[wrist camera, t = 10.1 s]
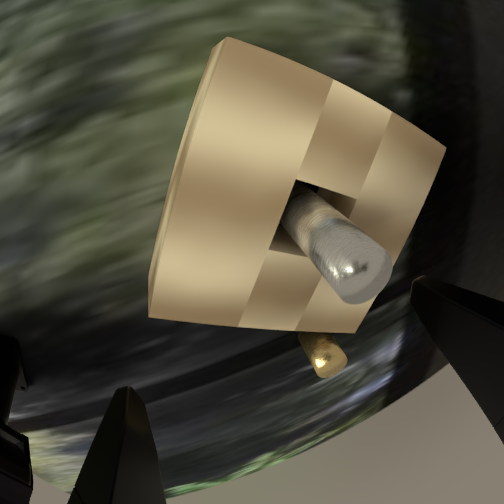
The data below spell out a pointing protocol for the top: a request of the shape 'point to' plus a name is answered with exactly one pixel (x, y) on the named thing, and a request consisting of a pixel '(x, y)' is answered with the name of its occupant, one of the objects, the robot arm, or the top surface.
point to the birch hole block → (278, 192)
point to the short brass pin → (323, 352)
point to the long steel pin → (336, 246)
